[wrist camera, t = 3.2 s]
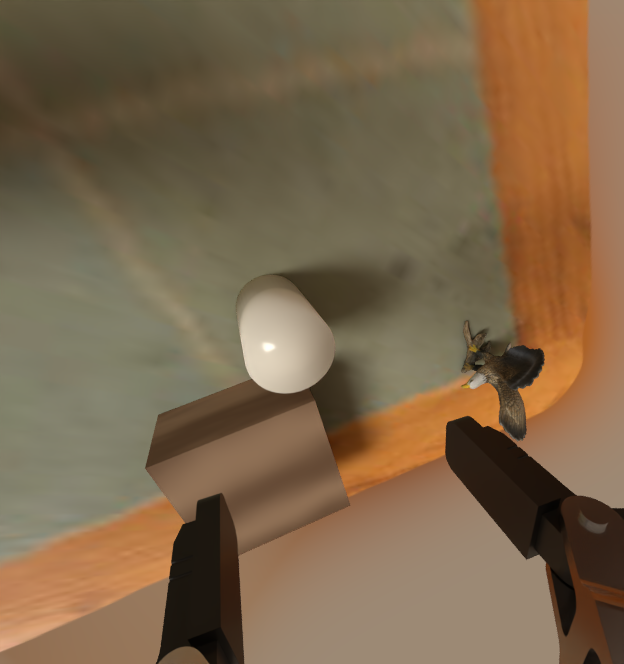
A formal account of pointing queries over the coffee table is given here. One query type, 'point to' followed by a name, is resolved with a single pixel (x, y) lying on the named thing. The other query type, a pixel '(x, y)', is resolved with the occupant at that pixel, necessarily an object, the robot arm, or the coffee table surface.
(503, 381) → the eagle figurine
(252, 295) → the ceramic capsule
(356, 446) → the coffee table surface
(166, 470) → the walnut block
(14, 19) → the coffee table surface
